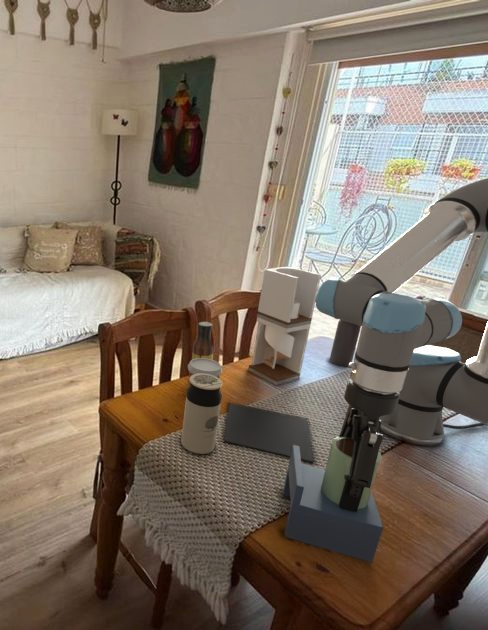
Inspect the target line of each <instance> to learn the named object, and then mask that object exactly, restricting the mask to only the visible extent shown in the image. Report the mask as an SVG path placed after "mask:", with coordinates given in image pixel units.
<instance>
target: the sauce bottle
mask: <svg viewBox="0 0 488 630" xmlns="http://www.w3.org/2000/svg"><path fill="white" fill-rule="evenodd" d="M197 329H198V332H197V337H196V338H195V339H194V341H193V345H192V346H193V347H192V356H191V360H192V359H196V358H206V359H211V360H214V344H213V341H212V339H211V338H212V336H211V333H212V329H213V324H212V323H211V322H208V321H200V322H199V323H198V324H197Z"/></svg>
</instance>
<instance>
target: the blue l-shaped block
mask: <svg viewBox="0 0 488 630" xmlns="http://www.w3.org/2000/svg"><path fill="white" fill-rule="evenodd" d="M324 472H325V469H324V468H321V467H316V466H313V465H312V466H311V465H308V464H304V463H302V460H301V456H300V448H299V446H296V445H293V447H292V451H291V456H290V457H289V461H288V465H287V470H286V474H285V475H286V476H285V478H284V483H283V489H282V496H283V497H287V498H290V507H289V512H288V517H287V521H286V525H285V530H284V538H287V539H291V540H294V541H298V542H300V543H305V544H307V545H310V546H315V547H318V548H320V549H323V550H327V551H331V552H334V553H337V554H340V555H344V556H348V557H351V558H354V559H358V560H361V561H364V562H367V563H371V564H372V563H373V561H374V558H375V555H376V552H377V549H378V545H379V543H380V539H381V536H382V533H383V530H384V525H383V522H382V518H381V515H380V512H379V510H378V507H377V503H376V500H375V497H374V495H373V491H372V492H371V495H370V498H369V501H368V505H367V506H366V507H364V508H362V509H358V510H357V512H355V511H351V510H347V509H343V508H340V507H339V505H338V504H336V503H334V502H333V501H331V500H330V499H329V498H327V497H326V496H325V494H324V493H323V492H322V489H321V484H322V480H323V476H324Z"/></svg>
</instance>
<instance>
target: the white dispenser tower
mask: <svg viewBox="0 0 488 630" xmlns="http://www.w3.org/2000/svg"><path fill="white" fill-rule="evenodd" d="M321 276H322V274H321V273H317V272H312V271H309V270H305V269H301V268H297V267H294V266H293V267H292V266H289V265H287V266H281V267H280V266H279V267H271V268H266V269H264V272H263V279H262V284H261V290H260V296H259V302H258V308H257V314H256V321H255V322H258V323H257V329H256V336H255V342H254V348H253V354H252V360H251V364H248V368H247V371H249V372H251V373H252V374H254V375H256V376H258V377H260V378H262V379H264V380H266V381H267V382H269V383H271V384H274V385H275V386H277V385H282V384H285V383H288V382H292V381H296V380H299V379H300V377H301V373H302V368H303V363H304V359H305V358H304V357H305V354H306V349H307V343H308V339H309V335H310V329H311V326H312V325H311V324H312V320H313V315H314V310H315V307H316V302H315V297H316V293H317V291H318V289H319V287H320V282H321Z"/></svg>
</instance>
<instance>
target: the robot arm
mask: <svg viewBox="0 0 488 630" xmlns="http://www.w3.org/2000/svg"><path fill="white" fill-rule="evenodd" d="M474 234H488V177H487V178H483V179H480V180H477V181H473V182H470V183H468V184H466V185H463V186H461V187H458V188H456V189H454V190H452V191H450V192H448V193H446V194H445V195H442V196H441V197H440V198H438V199H437V200H435V201H434V202H433V203H431V204H430V205H429V206H428V207H427V208H426V209H425V210H424V212H423V214H422V218H421V219H419V220H418V222H416V223H415V224H414V225H413V226H411V227H410V228H409V229H407V230H406V231H405V232H404V233H403V234H401V235H400V236H399V237H398V238H396V239H395V240H394V241H393V242H391V243H390V244H389V245H388V246H386V247H385V248H384V249H383V250H381V251H380V252H379V253H378V254H377V255H375V256H374V257H373V258H372V259H370V260H369V261H368V262H367V263H366V264H365V265H363V266H362V267H361V268H360V269H358V270H357V271H356V272H355V273H353V274H352V275H351V276H349V277H348V278H347V279H345V280H343V279H342V278H328V279H326V280H324V281H323V282H322V283H321V284H320V285H319V287H318V291H317V293H316V297H315V307H316V309H317V310H318V311H319V312H320V313H321V314H324V315H326V316H329V317H331V318H333V319H335V320H343V321H346V322H350V323H353V324H356V325H359V326H361V329H360V332H359V336H358V340H357V344H356V349H355V352H354V356H353V362H352V363H351V362H350V363H349V366H348V368H350V373H349V379H348V380H347V384H346V387H345V391H344V395H343V398H344V400H345V402H346V403H347V404H348V407H347V411H346V414H345V417H344V420H343V423H342V425H341V429H340V433H339V435H338V437H346V438H351V439H353V440H354V447H353V454H352V461H351V468H350V475H349V476H348V475H344V479H346V481H345V484H344V488H343V491H342V495H341V499H340V502H339V507H340V508H343V509H347V510H351V511H355V512H357V510H358V507H359V503H360V500H361V497H362V493H363V490H364V487H366V488H370V486H371V482H372V477H373V473H374V469H375V464H376V460H377V456H378V451H379V452H380V448H381V446H382V442H383V440H384V436H383V434H382V433H384V434H385V435H387V436H389V437H391V438H393V439H396V440H399V441H402V442H403V443H408V444H411V445H417V446H425V447H429V446H430V447H431V446H437V445H439V444H441V443H442V441H443V439H444V437H445V428H448V429H454V430H465V429H466V430H467V429H471V428H477V427H482V426H486V427H488V322H487V323H486V326H485V330H484V333H483V336H482V339H481V342H480V346H479V349H478V353H477V356H473V357H471V358H469V359H467V360H466V362H463V361H461V360H462V356H461V353H459V352H457V351H455V350H453V349H451V348H447V347H442V346H435V344H440V343H442V342H444V341H446V340H448V339H450V338H452V337H454V336H455V335H457V333H458V332H459V331H460V329H461V327H462V324H463V316H462V313H461V311H460V309H459V308H458V307H457V306H456V304H454V303H453V302H451V301H449V300H446V299H443V298H424V299H421V298H416V297H414V296H409V295H405V294H399V293H395V292H397V291H398V290H399V289H400V288H402V286H404V285H405V284H406V283H408V282H409V281H410V280H411V279H412V278H414V276H416V275H417V274H418V273H420V272H421V270H423V269H424V268H425V267H427V266H428V265H429V264H430V263H431V262H433V261H434V260H435V259H436V258H437V257H438V256H439V255H440V254H442V253H443V252H444V251H446V249H448V248H449V247H450V246H451V245H453V244H454V243H455V242H460V241H464V240H465V239H467V238H469V237H470V236H472V235H474ZM443 409H446V410H449V411H452V412H454V413H456V414H458V415H462V416H464V417H466V418H469V419H471V420H473V421H475V422H476V423H471V424H466V425H454V424H448V423H447V424H446V423H444V419H443ZM379 431H381V432H382V433H379Z"/></svg>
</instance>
